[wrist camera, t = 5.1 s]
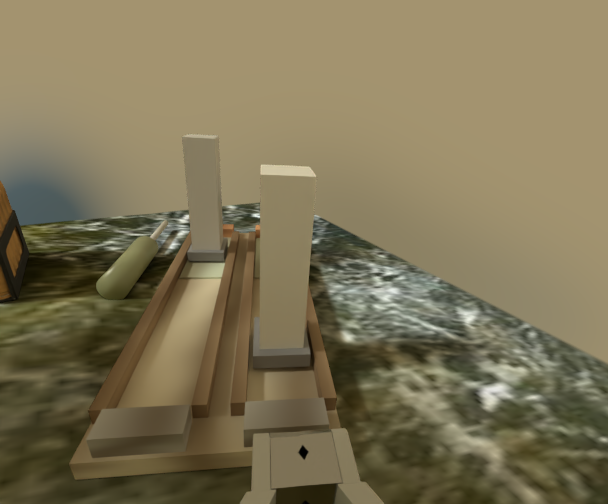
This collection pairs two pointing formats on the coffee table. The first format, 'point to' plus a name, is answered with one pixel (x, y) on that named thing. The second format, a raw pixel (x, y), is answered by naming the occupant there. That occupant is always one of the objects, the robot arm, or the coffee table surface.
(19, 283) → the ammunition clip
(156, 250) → the screwdriver
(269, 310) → the beige rectangular pillar
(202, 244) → the pillar on grey base
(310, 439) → the robot arm
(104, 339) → the coffee table surface
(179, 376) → the wooden double track board
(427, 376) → the coffee table surface
